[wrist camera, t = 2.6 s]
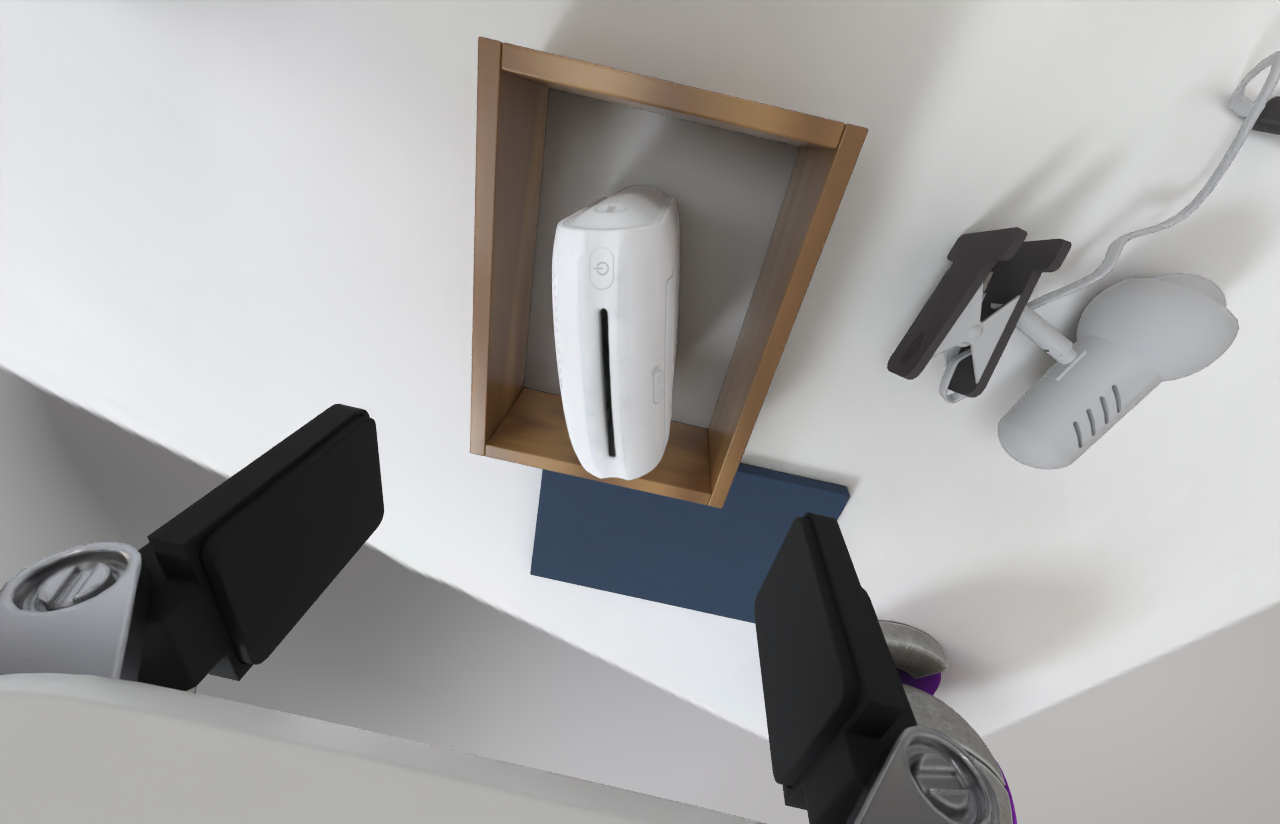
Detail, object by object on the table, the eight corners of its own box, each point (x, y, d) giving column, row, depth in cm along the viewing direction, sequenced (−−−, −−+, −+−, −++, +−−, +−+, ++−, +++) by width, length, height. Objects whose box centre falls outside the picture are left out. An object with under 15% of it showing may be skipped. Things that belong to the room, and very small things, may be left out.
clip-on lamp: (1134, 23, 21) (856, 351, 26) (1326, -79, 15) (916, 375, 20) (1305, 187, 23) (1013, 470, 27) (1545, 154, 16) (1114, 526, 21)
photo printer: (597, 182, 24) (518, 216, 13) (683, 181, 23) (674, 216, 13) (607, 369, 29) (556, 504, 18) (677, 371, 28) (668, 511, 18)
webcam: (901, 722, 44) (988, 965, 31) (765, 696, 44) (795, 928, 31) (973, 636, 37) (1122, 900, 24) (813, 606, 37) (877, 853, 24)
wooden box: (510, 395, 30) (469, 453, 25) (533, 62, 22) (477, 35, 16) (717, 441, 31) (722, 509, 25) (824, 131, 22) (869, 128, 16)
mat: (533, 565, 38) (530, 574, 37) (551, 420, 31) (547, 428, 30) (774, 617, 38) (776, 628, 38) (846, 486, 31) (851, 496, 31)
